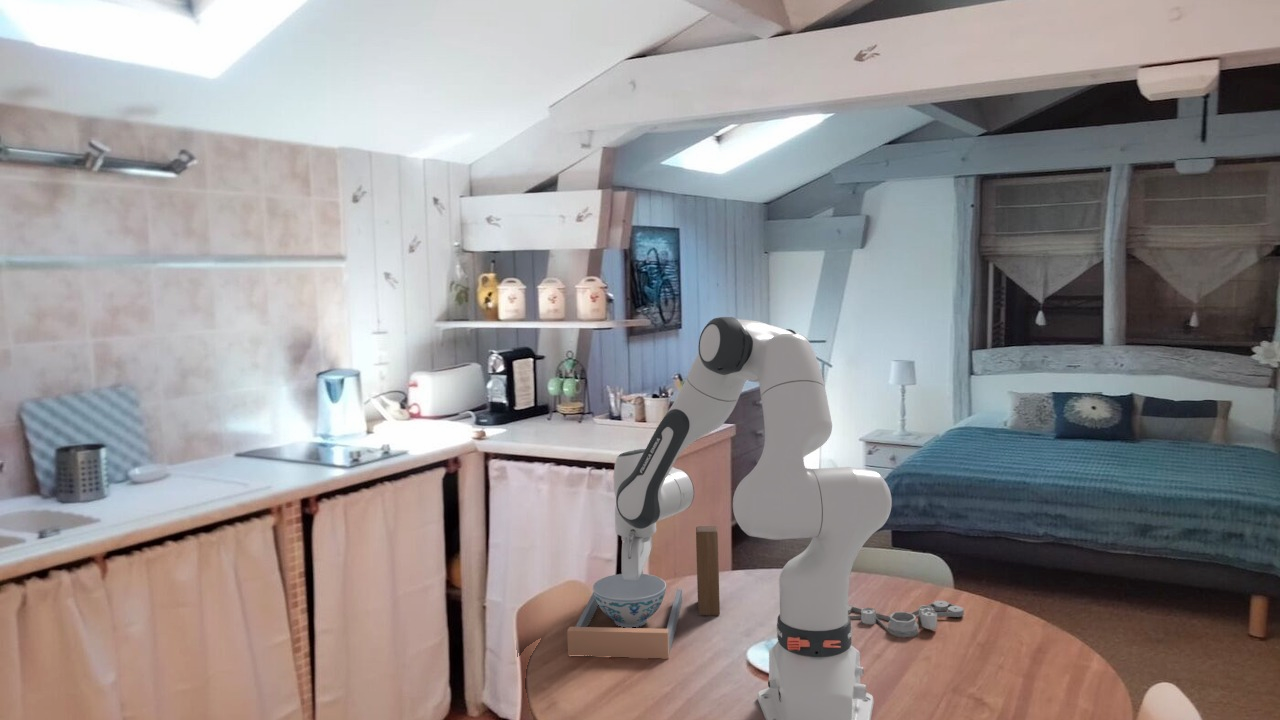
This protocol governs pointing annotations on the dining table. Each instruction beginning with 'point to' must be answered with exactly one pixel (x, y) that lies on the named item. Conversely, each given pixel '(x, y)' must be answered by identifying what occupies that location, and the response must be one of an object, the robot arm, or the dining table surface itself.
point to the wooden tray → (622, 636)
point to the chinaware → (629, 598)
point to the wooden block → (707, 570)
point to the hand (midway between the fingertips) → (637, 586)
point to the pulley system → (909, 617)
